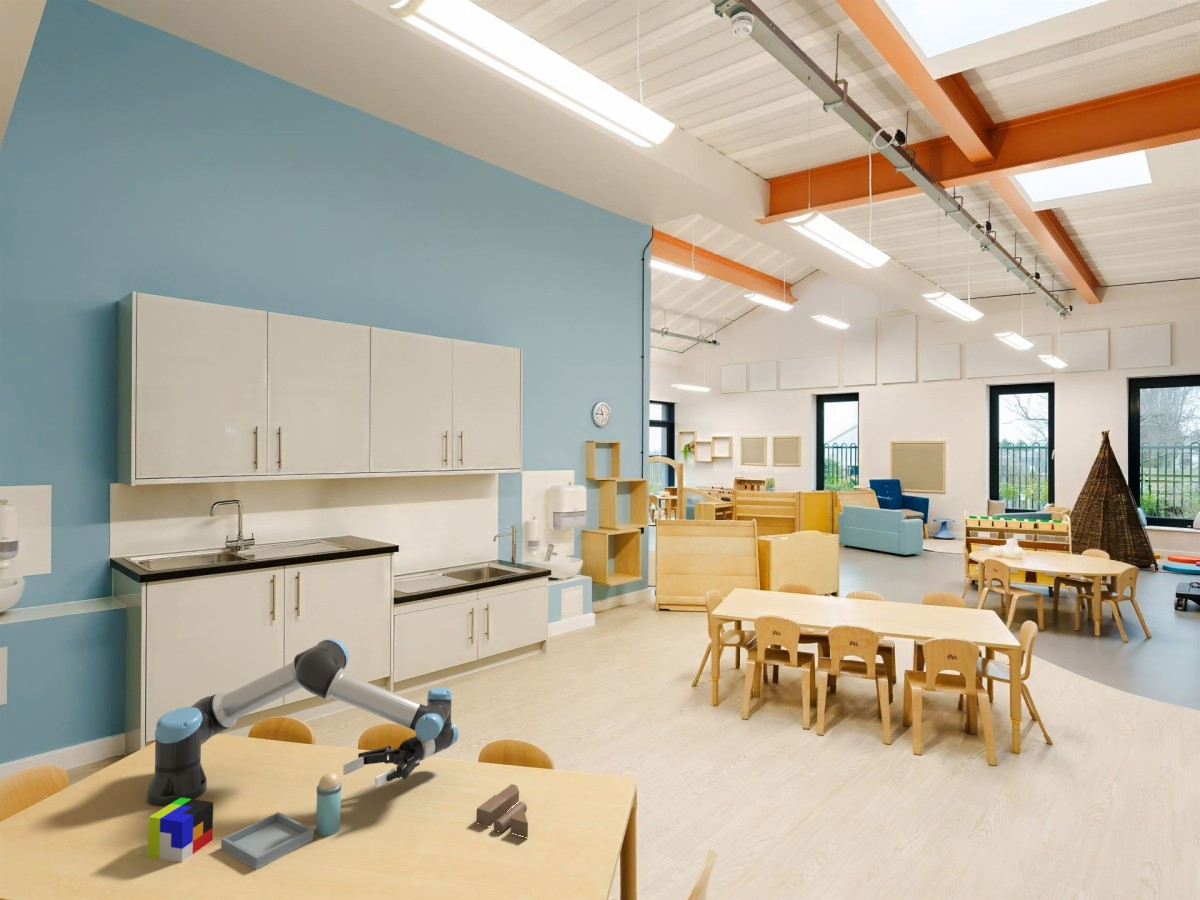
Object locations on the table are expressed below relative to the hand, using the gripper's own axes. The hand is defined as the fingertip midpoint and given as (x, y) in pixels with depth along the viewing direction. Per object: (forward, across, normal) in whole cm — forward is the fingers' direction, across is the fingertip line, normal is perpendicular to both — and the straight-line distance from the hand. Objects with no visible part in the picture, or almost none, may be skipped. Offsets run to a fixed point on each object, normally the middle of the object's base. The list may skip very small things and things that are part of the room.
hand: (359, 776), depth 193 cm
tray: (+23, +7, -10) cm, 26 cm away
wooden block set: (-24, -38, -12) cm, 46 cm away
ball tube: (+10, 0, -11) cm, 15 cm away
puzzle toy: (+36, +24, -11) cm, 45 cm away
